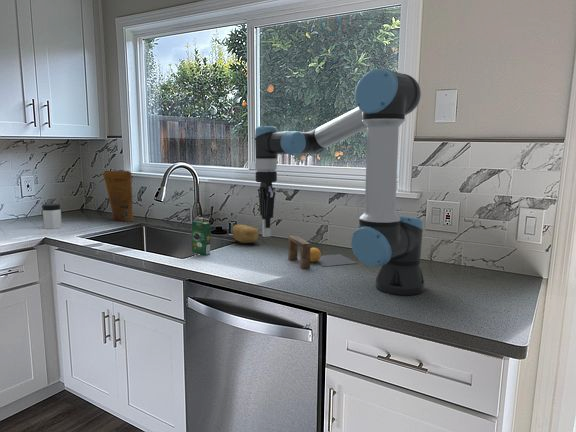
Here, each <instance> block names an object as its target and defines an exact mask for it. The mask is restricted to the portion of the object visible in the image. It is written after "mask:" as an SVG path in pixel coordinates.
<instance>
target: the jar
mask: <svg viewBox="0 0 576 432" xmlns="http://www.w3.org/2000/svg"><path fill="white" fill-rule="evenodd" d="M41 210H42V211H41V212H42V222H43V229H44V230H55V229H60V228H62V227H63V225H62V212H61V211H62V210H61V204H60V203H57V202H56V203H54V202H53V203H51V202H50V203H43V204H42V205H41Z"/></svg>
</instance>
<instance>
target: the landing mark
mask: <svg viewBox="0 0 576 432" xmlns="http://www.w3.org/2000/svg"><path fill="white" fill-rule="evenodd" d="M316 263H317V264H319V265H320V266H322V267H325V268H326V267H335V266H345V265H346V266H347V265H355V264H356V265H357V264H358V262H356V261H354V260H352V259H351V258H348V257H346V256H344V255H342V254H341V253H338V254H328V255H326V254H324V255H321V257H320V259H319V260H318V261H317V262H316Z"/></svg>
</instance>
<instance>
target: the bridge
mask: <svg viewBox="0 0 576 432" xmlns="http://www.w3.org/2000/svg"><path fill="white" fill-rule="evenodd" d="M287 241H288V243H287V244H288V247H287V248H288V252H287V254H288V257H287V259H288V261H296V260H297V261H298V246H299V247H300V260H299V261H300V262H299V263H300V265H299V266H300V268H301V270H306V269H311V261H310V248H312V247H311V246H312V245H311V242H308V241H307V240H305V239H303V238H301V237H299V236H298V235H296V234H295V235H288V240H287Z"/></svg>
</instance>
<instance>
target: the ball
mask: <svg viewBox="0 0 576 432" xmlns="http://www.w3.org/2000/svg"><path fill="white" fill-rule="evenodd" d="M321 256H322V252H321V251H320V249H319V248H317V247H310V263H311V262H312V263H317V261H318V260H319V259H320V257H321Z"/></svg>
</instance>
